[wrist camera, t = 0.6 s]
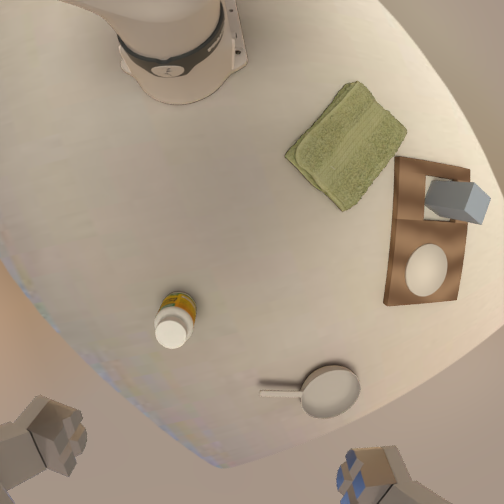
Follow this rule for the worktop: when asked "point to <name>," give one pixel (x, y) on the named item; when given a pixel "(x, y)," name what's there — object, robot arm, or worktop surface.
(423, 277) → the felt coaster
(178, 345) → the supplement bottle
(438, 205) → the slate block
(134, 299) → the worktop surface
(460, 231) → the walnut board
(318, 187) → the washcloth
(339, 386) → the saucepan
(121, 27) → the robot arm
